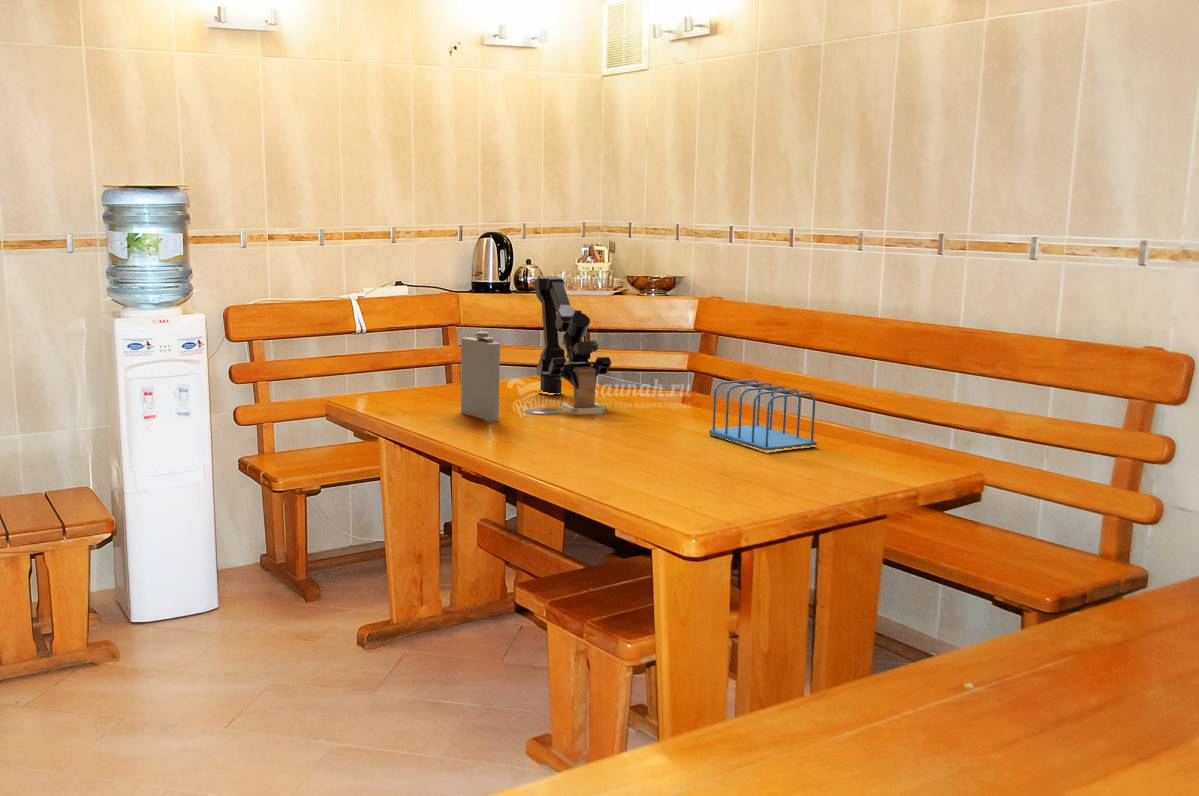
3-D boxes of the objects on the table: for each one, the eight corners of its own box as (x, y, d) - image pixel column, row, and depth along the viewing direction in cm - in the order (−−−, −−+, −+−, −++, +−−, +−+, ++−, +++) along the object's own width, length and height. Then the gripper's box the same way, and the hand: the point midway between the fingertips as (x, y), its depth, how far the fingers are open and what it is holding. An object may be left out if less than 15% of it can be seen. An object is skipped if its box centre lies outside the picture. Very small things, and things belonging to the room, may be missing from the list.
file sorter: (708, 436, 307) (710, 381, 305) (757, 431, 316) (760, 378, 314) (765, 454, 286) (769, 395, 284) (816, 448, 295) (820, 391, 293)
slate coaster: (516, 413, 333) (516, 411, 333) (541, 408, 341) (541, 406, 341) (543, 418, 326) (543, 416, 326) (568, 413, 334) (568, 411, 334)
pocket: (560, 409, 341) (561, 403, 340) (594, 408, 344) (594, 402, 344) (572, 416, 330) (572, 409, 330) (607, 414, 334) (607, 408, 334)
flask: (503, 420, 321) (504, 334, 316) (489, 422, 318) (490, 335, 314) (472, 411, 334) (473, 328, 330) (458, 412, 331) (459, 329, 327)
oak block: (573, 409, 339) (574, 367, 337) (588, 408, 341) (589, 366, 338) (578, 412, 334) (579, 369, 332) (594, 411, 336) (595, 369, 334)
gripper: (552, 331, 334) (563, 373, 325) (610, 330, 340) (622, 371, 332) (543, 354, 342) (554, 395, 334) (600, 353, 349) (612, 393, 341)
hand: (586, 388), depth 335 cm, fingers closed on oak block, 5 cm apart
